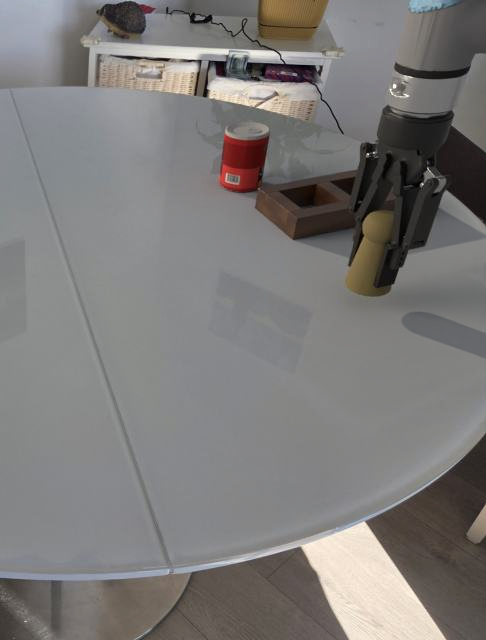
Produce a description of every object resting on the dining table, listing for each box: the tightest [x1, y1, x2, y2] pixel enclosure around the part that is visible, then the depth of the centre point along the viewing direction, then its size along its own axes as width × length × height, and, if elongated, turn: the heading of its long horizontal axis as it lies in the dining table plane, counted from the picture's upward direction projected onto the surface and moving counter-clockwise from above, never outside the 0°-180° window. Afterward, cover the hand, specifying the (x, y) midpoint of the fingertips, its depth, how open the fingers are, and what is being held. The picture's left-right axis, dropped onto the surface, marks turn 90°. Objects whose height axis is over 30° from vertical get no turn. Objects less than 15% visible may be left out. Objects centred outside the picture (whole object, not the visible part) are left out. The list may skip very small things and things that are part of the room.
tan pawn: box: [343, 210, 394, 298], centre depth 87 cm, size 6×6×11 cm
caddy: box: [254, 168, 396, 241], centre depth 112 cm, size 12×22×4 cm, turn 104°
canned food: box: [218, 121, 271, 193], centre depth 121 cm, size 8×8×11 cm
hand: (370, 274), depth 89 cm, fingers closed on tan pawn, 5 cm apart
